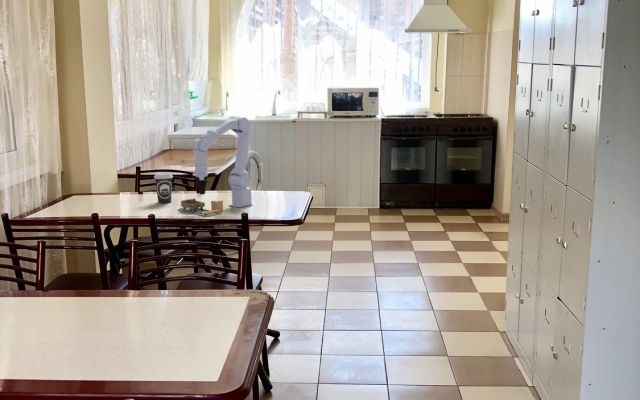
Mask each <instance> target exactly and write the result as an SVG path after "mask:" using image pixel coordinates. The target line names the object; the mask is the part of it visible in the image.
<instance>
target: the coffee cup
mask: <svg viewBox="0 0 640 400" xmlns="http://www.w3.org/2000/svg"><path fill="white" fill-rule="evenodd" d="M173 178H174V176H173V174H172V172H166V171H165V172H164V171H163V172H156V173H155V174H154V177H153V179H154V182H155V186H156V187H155V188H156V197H157V202H158V204H170V203H172V195H173V194H172V193H173V192H172V190H173Z"/></svg>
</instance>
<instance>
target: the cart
mask: <svg viewBox="0 0 640 400" xmlns="http://www.w3.org/2000/svg"><path fill="white" fill-rule="evenodd" d="M196 199H197V198H195V197H194V198H189V199H182V200H181V201H180V206H181V207H180V208H183V209H186V208H189V209H190V211H192V210H193V209H194V208H201V209H204V207H205V206H206V203H205V202H204V201H199V200H196Z"/></svg>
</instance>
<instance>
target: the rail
mask: <svg viewBox="0 0 640 400" xmlns="http://www.w3.org/2000/svg"><path fill="white" fill-rule="evenodd" d="M177 211H179V212H183V213H188V214H192V215H196V216H201V217H206V218H207V217H208V218H209V217H213V216H217V215H222V214H223V213H222V212H221V211H219V210H213V211H211V210H210V209H205V208H203V209H201V208H200V207H199V208H194V209H193V210H192V211H190V209H189V208H186V209H183V207H180V208H178V209H177Z"/></svg>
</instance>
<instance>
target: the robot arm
mask: <svg viewBox="0 0 640 400" xmlns="http://www.w3.org/2000/svg"><path fill="white" fill-rule="evenodd" d="M250 127H251V122H250V121H249V119H248V118H247V117H246V116H245V117H244V116H243V117H241V116H230V117H229V118H227V119H226V120H225V121H224V122H223V123H222V124H220V125H219V126H218V127H216V129H214V130H213V129H208V130H207V131H206V133H204V134H203V135H200V136H199V137H198V138H195V139H194V140H193V141H192V142H191V145H190V147H191V149H192V151H193V154H194V173H192V176H193V177H194V176H195V182H196V185H197V188H198V191H199V194H200V195H201V196H202V195H205V194H206V187H207V184H208V181H209V179H208V176H209V173H208V157H207V156H208V153H207V152H208V150H209V149H210V148H209V147H210V146H211V145H214V143H216V142H218V140H219V137H221V136H222V135H223V134H225V133H227V132H228V131H229V130H231V131H232V132H234V133H235V134H236V135H237V137H238V139H237V140H238V141H237V148H236V155H235V161H234V162H235V163H234V168H233V169H232V170H231V171H230V174H229V176H228V178H227V181H228V185H229V186H230V188H231V203H229V204H228V206H229V207H234V208H243V207H248V206H253V205H254V204H253V203H252V202H253V201H252V191H251V188H250V187H248V186H249V184H250V177H249V175H250V174H249V172H248V170H247V169H246V168H247V161H248V153H249V146H250V139H251V131H250Z"/></svg>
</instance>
